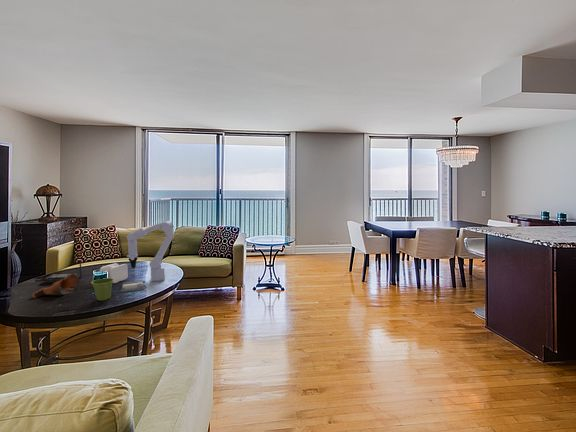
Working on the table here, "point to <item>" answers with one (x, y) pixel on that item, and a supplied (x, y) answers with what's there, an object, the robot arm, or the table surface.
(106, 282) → the plant pot
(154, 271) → the robot arm
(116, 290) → the table surface
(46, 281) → the black wireless router
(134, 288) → the board
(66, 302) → the table surface
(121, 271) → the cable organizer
